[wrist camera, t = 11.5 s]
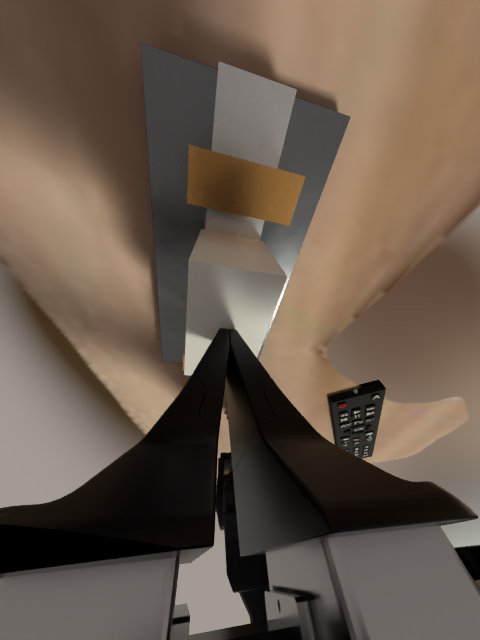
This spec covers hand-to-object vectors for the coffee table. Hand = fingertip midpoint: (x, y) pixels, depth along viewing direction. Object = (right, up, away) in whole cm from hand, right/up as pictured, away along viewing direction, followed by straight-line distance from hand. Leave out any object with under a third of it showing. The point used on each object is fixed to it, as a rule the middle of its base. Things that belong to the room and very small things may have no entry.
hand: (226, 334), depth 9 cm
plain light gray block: (0, +3, +4) cm, 6 cm away
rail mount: (-1, +4, +6) cm, 7 cm away
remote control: (+23, -21, +28) cm, 42 cm away
